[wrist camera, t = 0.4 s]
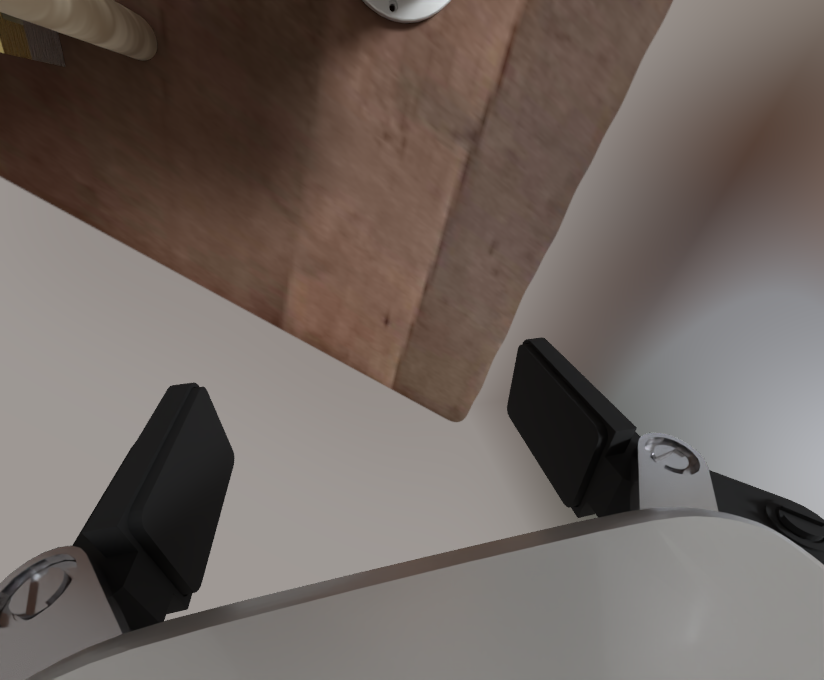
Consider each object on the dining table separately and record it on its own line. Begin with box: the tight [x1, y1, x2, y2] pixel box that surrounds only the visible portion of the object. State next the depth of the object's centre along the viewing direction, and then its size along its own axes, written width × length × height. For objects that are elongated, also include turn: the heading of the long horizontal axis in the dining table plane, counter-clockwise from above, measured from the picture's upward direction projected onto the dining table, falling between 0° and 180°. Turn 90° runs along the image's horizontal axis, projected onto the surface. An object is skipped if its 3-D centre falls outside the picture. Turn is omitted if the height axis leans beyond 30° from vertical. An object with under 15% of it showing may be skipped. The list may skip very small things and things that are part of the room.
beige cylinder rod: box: [0, 0, 157, 61], centre depth 23 cm, size 3×3×15 cm
